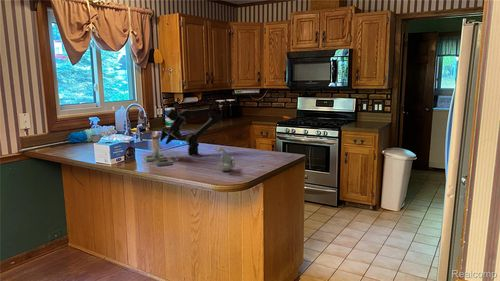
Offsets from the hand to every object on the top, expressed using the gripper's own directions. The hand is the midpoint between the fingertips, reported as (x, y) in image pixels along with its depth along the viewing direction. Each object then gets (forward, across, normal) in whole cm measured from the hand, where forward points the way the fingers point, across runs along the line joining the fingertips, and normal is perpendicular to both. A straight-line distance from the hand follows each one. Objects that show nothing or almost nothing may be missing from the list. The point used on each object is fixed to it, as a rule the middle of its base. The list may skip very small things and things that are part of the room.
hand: (163, 142), depth 255 cm
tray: (+12, 0, -3) cm, 13 cm away
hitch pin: (+12, 0, -3) cm, 12 cm away
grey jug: (-5, -58, -15) cm, 60 cm away
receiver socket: (+12, -17, -1) cm, 21 cm away
